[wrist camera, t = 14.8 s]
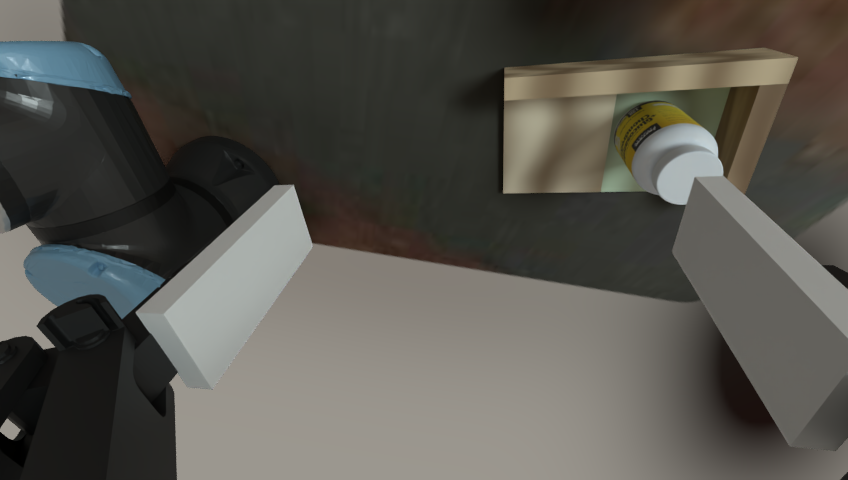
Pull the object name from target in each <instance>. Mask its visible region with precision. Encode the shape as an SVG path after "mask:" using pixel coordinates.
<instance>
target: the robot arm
mask: <svg viewBox="0 0 848 480" xmlns="http://www.w3.org/2000/svg"><path fill="white" fill-rule="evenodd" d="M131 98H132V96H131V95H130V93H129V92H128V91H125V89H124V87H123V86H122V84H121V82H120V80H119V79H118V77H117V75H116V73H115V72H114V70H113V68H112V66H111V65H110V63H109V61H108V60H107V58H106V57H105V56H104V55H103V54H102V53H101V52H100V51H98V50H97V49H95V48H93V47H91V46H89V45H86V44H83V43H78V42H64V41H14V42H13V41H9V42H0V233H4V232H8V231H10V230H13V229H15V228H17V227H19V226H22V225H24V224H26V225H27V226H28V228H29V229H30V230H31V231H32V233H33V234H34V235H35V236H36V238H37V239H38V240H39V241H40V243H41V246H39V247H36V248H34V249H32V250H31V252H30V254H29V255H28V256H27V257H26V259H25V261H24V268H25V269H26V270H25V274H26V277H27V278H28V280H29V281H30V283H31V284H32V285H33V286H34V287H35V289H37V291H38V292H40V293H41V294H42V295H43V296H44V297H46V298H47V299H48V300H49V301H51V302H52V303H53V304H55V305H56V306H58V307H57V308H55V309H53V310H52V311H50V312H49V313H48V314H47V315H46V316H45V317H43V318H42V319H41V320H40V322H39V323H38V325H37V327H38V328H39V329H40V331H42V333H43V334H44V335H45V336H46V337H47V338H48V339H49V340H50V341H51V342H52V344H53V345H54V346H55V348H50V349H45V350H43V349H42V348H41V346H40V345H39V344H38V343H37V342H36V341H35V340H34V339H33V338H32V337H27V336H22V337H15V338H12V339H9V340H6V341H1V342H0V428H1V426H2V425H3V423H4V422H5V420H6V419H7V418H8V419H9V420H10V421H11V422H12V423H14V424H15V425H16V426H17V427H18V428H19V429H21V430H20V432H19V434H18V435H17V437H16V438H15V439H14V440H11V439H8V438H7V437H6V436H5V435H3V434H2V433H1V432H0V480H177V472H176V437H175V405H174V404H175V403H174V391H173V389H172V387H171V385H170V384H169V382H170V381H171V380H172V379H173V377H174V376H175V375H176V374H177V373H178V374H179V376H180V377H181V379H182V380H183V381H184V383H185V384H186V386H187V387H191V388H202V389H211V390H212V389H213V388H214V386H215V385H216V384H217V382H218V381H219V379H220V378H221V376H222V375H223V374H224V372H225V371H226V369H227V368H228V367H229V365H230V364H231V362H232V361H233V360H234V358H235V357H236V355H237V354H238V352H239V351H240V350H241V348H242V347H243V345H244V344H245V343H246V341H247V340H248V338H249V337H250V335H251V334H252V332H253V331H254V330H255V328H256V327H257V326H258V324H259V322H260V321H261V320H262V318H263V317H264V316H265V314H266V313H267V311H268V310H269V309H270V307H271V306H272V304H273V303H274V301H275V300H276V299H277V297H278V296H279V294H280V293H281V292H282V290H283V289H284V287H285V286H286V284H287V283H288V282H289V280H290V279H291V277H292V276H293V274H294V273H295V272H296V270H297V269H298V267H299V266H300V264H301V263H302V262H303V260H304V259H305V257H306V256H307V254H308V253H309V252H310V250H311V249H312V248H313V245H312V242H311V239H310V236H309V232H308V229H307V226H306V223H305V220H304V217H303V213H302V210H301V207H300V204H299V201H298V197H297V194H296V191H295V188H294V185H279V183H278V181H277V179H276V177H275V175H274V174H273V172H272V171H271V169H270V168H269V167H268V165H267V164H266V163H265V162H264V161H263V160H262V159H261V158H260V157H259V156H258V155H257V154H255V153H254V152H253V151H251V150H250V149H249V148H247V147H245V146H244V145H242V144H240V143H238V142H236V141H233V140H230V139H227V138H223V137H217V136H207V137H201V138H198V139H196V140H194V141H192V142H190V143H188V144H186V145H184V146H183V147H181V148H180V149H179V150H178V151H177V152H176V153H175V154H174V155H173V157H172V158H171V160H170V161H169V163H168V164H167V166H166V167H165V166H164V164H163V162H162V160H161V158H160V156H159V154H158V152H157V150H156V148H155V146H154V144H153V142H152V140H151V138H150V136H149V134H148V132H147V130H146V128H145V126H144V124H143V122H142V120H141V119H140V117H139V115H138V113H137V111H136V109H135V107H134V105H133V103H132V101H131ZM672 253H673V255H674V256H675V258H676V259H677V261H678V263H679V264H680V266H681V268H682V269H683V271H684V273H685V274H686V276H687V278H688V279H689V281H690V283H691V284H692V286H693V287H694V289H695V291H696V292H697V294H698V296H699V297H700V299H701V301H702V302H703V304H704V306H705V307H706V309H707V311H708V312H709V314H710V316H711V317H712V319H713V320H714V322H715V324H716V325H717V327H718V329H719V330H720V332H721V334H722V335H723V337H724V339H725V340H726V342H727V344H728V345H729V347H730V349H731V350H732V352H733V353H734V355H735V356H736V358H737V360H738V361H739V363H740V365H741V367H742V368H743V370H744V371H745V373H746V375H747V377H748V378H749V380H750V382H751V383H752V385H753V386H754V388H755V390H756V391H757V393H758V395H759V396H760V398H761V400H762V401H763V403H764V405H765V406H766V408H767V410H768V411H769V413H770V414H771V416H772V418H773V419H774V421H775V423H776V424H777V426H778V428H779V429H780V431H781V433H782V434H783V436H784V438H785V439H786V441H787V443H788V444H789V446H791V447H801V448H811V449H821V450H832V451H836V450H837V449H838V448H839V447H840V446H841V445H842V444H843V442H844V441H845V440H846V439H847V438H848V273H847V272H845V271H843V270H841V269H839V268H838V267H836V266H833V265H820V264H819V263H818V262H817V261H816V260H815V259H814V258H812V256H811V255H810V254H808V253H807V252H806V251H805V250H804V249H803V248H802V247H801V246H800V245H798V243H796V242H795V241H794V240H793V239H792V238H791V237H790V236H789V235H788V234H787V233H785V232H784V231H783V230H782V229H781V228H780V227H779V226H778V225H777V224H776V223H775V222H773V221H772V220H771V219H770V218H769V217H768V216H767V215H766V214H765V213H764V212H762V211H761V210H760V209H759V208H758V207H757V206H756V205H755V204H754V203H753V202H752V201H750V200H749V199H748V198H747V197H746V196H745V195H744V194H743V193H742V192H741V191H740V190H738V189H737V188H736V187H735V186H734V185H733V184H732V183H731V182H730V181H729V180H727V179H726V178H725V177H724V176H708V177H695V178H694V181H693V184H692V188H691V191H690V194H689V197H688V201H687V204H686V207H685V211H684V214H683V217H682V220H681V224H680V227H679V230H678V234H677V237H676V240H675V243H674V247H673V250H672ZM841 480H848V472H847V473H846V474H845V475H844V476H843V477H842V479H841Z"/></svg>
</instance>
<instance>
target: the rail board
mask: <svg viewBox="0 0 848 480" xmlns="http://www.w3.org/2000/svg"><path fill="white" fill-rule="evenodd" d="M797 60H798V57H796V56H792V55H789V54H785V53H781V52H778V51H774V50H771V49H767V48H754V49H741V50H728V51H715V52H702V53H689V54H676V55H663V56H650V57H637V58H624V59H611V60H598V61H585V62H572V63H559V64H546V65H533V66H520V67H507V68H504V158H503V193H562V192H633V191H646V190H644V189H643V188H641V187H640V186H639V185H638V183H637V182H636V181H635V179H634V178H633V176H632V174H631V173H630V171H629V169H628V168H627V166H626V165H625V163H624V161H623V160H622V158H621V156H620V155H619V153H618V152H617V150H616V147H615V144H614V132H615V129H616V126H617V124H618V122H619V121H620V119H621V118H622V117H623V116H624V114H625V113H627V112H628V111H629V110H630V109H632V108H633V107H635V106H637V105H639V104H641V103H644V102H647V101H653V100H661V101H666V102H669V103H672V104H673V105H675V106H676V107H678V108H679V109H680V110H682V111H683V112H684V113H685V114H687V115H688V116H689V117H691V118H692V119H693V120H694V121H696V122H697V123H698V124H700V125H701V126H702V127H703V128H705V129H706V130H707V131H708V132H709V133H710V134H711V135H712V136H713V137H714V139H715V141H716V143H717V146H718V158H719V160H720V161H721V163H722V166H723V176H724V177H725V178H726V179H727V180H729V181H730V182H731V183H732V184H733V185H734V186H735V187H736V188H737V189H738V190H740V191H741V192H742V193H743V194H744V195H745V192H746V190H747V187H748V185H749V182H750V180H751V177H752V175H753V172H754V169H755V167H756V164H757V162H758V159H759V157H760V154H761V152H762V149H763V147H764V144H765V141H766V139H767V136H768V134H769V131H770V129H771V126H772V124H773V121H774V118H775V116H776V113H777V111H778V108H779V106H780V103H781V101H782V98H783V95H784V93H785V90H786V88H787V85H788V83H789V80H790V78H791V75H792V73H793V70H794V67H795V65H796V62H797Z"/></svg>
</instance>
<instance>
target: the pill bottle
mask: <svg viewBox="0 0 848 480" xmlns="http://www.w3.org/2000/svg"><path fill="white" fill-rule="evenodd" d="M614 144H615V147H616V150H617V152H618V153H619V155H620V156H621V158H622V160H623V161H624V163H625V165H626V166H627V168H628V169H629V171H630V173H631V174H632V176H633V178H634V179H635V181H636V182H637V183H638V185H639V186H640V187H641V188H643V189H644V190H646V191H647V192H650V193H652V194H655V195H660V197H661V198H663V199H664V200H665V201H667V202H669V203H672V204H679V205H684V204H687V201H688V197H689V194H690V191H691V188H692V184H693V181H694V178H695V177H708V176H723V166H722V163H721V161H720V160H719V158H718V146H717V143H716V141H715V139H714V137H713V136H712V135H711V134H710V133H709V132H708V131H707V130H706V129H705V128H703V127H702V126H701V125H700V124H698V123H697V122H696V121H694V120H693V119H692V118H691V117H689V116H688V115H687V114H685V113H684V112H683V111H682V110H680V109H679V108H678V107H676V106H675V105H673V104H672V103H669V102H666V101H661V100H653V101H647V102H644V103H641V104H639V105H637V106H635V107H633V108H632V109H630V110H629V111H628V112H627V113H625V114H624V116H623V117H622V118H621V119H620V121H619V122H618V124H617V126H616V129H615V132H614Z"/></svg>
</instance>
